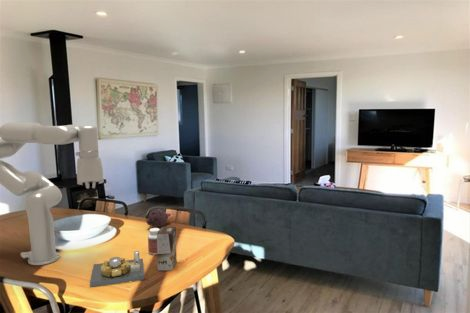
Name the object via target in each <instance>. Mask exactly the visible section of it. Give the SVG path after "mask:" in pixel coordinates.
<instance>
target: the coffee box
mask: <svg viewBox="0 0 470 313" xmlns="http://www.w3.org/2000/svg"><path fill="white" fill-rule="evenodd" d="M160 227H161V228H159V229H160V230H159V231H158V233H157V254H156V255H157V256H156V257H157V271H173V270H174V267H175V265H176V263H177V260H178V259H177V256H178V255H177V227H176V226H160Z"/></svg>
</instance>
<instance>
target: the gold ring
mask: <svg viewBox="0 0 470 313" xmlns="http://www.w3.org/2000/svg"><path fill="white" fill-rule="evenodd" d="M120 258H121V267H120V268H117V269H111V267H110V266H109V260H104V261H103V263H104V264H103V265H102V266H101V275H103V276H108V277H110V276H112V277H114V276H120V275H121V274H125V273H126V272H128V271H129V270H130V269H131V265H135V264H140V259H141V258H140V251H139V250H136V251H133V260H134V262H132V263H129V262H128V261H126V260H127V259H126V258H125V257H124V258H123V257H120Z"/></svg>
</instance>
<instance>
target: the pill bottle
mask: <svg viewBox="0 0 470 313" xmlns="http://www.w3.org/2000/svg"><path fill="white" fill-rule="evenodd" d="M160 229H161V228H158V227H153V228H149V230H148V232H149V234H148V235H147V243H148V244H147V248H148V254H150V255H157V233H158V231H159V230H160Z"/></svg>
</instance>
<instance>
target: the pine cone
mask: <svg viewBox="0 0 470 313" xmlns="http://www.w3.org/2000/svg"><path fill="white" fill-rule="evenodd" d="M169 217H171V213H166V212H165V211H164V210H163V209H160V208H156V209H153V210H151V212H150V214H149V216H148V217H147V220H146V224H147V225H148V226H155V227H156V226H157V227H164V226H165V225H166V223H167V220H168V218H169Z"/></svg>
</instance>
